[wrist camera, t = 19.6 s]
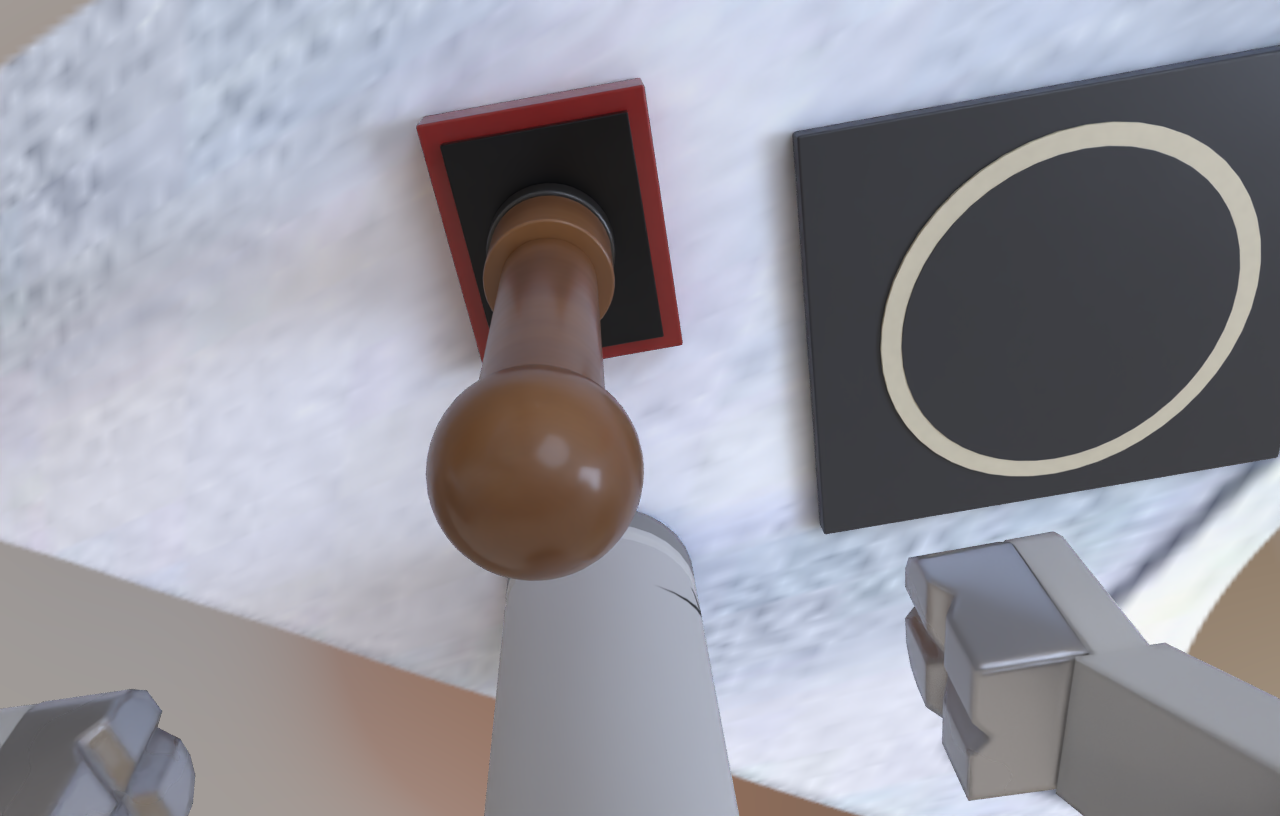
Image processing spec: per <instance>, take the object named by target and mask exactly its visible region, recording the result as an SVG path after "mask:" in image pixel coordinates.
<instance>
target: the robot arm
mask: <svg viewBox="0 0 1280 816" xmlns="http://www.w3.org/2000/svg"><path fill="white" fill-rule="evenodd" d="M905 587H906V589H907V591H908V594H909V596H910V598H911V600H912V602H913V604H914V606H915V607H914V608H913V609H912V610H911V612H910V613H909V614H908V615H907V617H906V618H905V625H906V644H907V649H908V654H909V660H910V665H911V669H912V672H913V675H914V678H915V681H916V684H917V687H918V689H919V692H920V694H921V696H922V699H923V701H924V703H925V706H926V707H927V708H928V709H930V710H931V711H933V712H934V713H936V714H937V715H939V716H940V717H942V718H943V727H942V744H943V746H944V748H945V750H946V753H947V755H948V757H949V759H950V761H951V764H952V766H953V768H954V770H955V772H956V775H957V777H958V779H959V781H960V783H961V786H962V788H963V790H964V792H965V794H966V797H967V799H968V801H970V800H978V799H985V798H993V797H1000V796H1008V795H1015V794H1023V793H1030V792H1037V791H1045V790H1052V789H1056V794H1057V795H1058V796H1060V797H1061V798H1062V799H1063V800H1065V801H1066V802H1067V803H1068V804H1070V805H1071V806H1072V807H1073V808H1075V809H1076V810H1077V811H1078V812H1080V813H1081V814H1082V815H1083V816H1280V699H1279V698H1277V697H1275V696H1273V695H1271V694H1269V693H1267V692H1265V691H1262V690H1261V689H1258V688H1256V687H1254V686H1252V685H1250V684H1248V683H1246V682H1244V681H1242V680H1240V679H1238V678H1236V677H1234V676H1232V675H1230V674H1228V673H1226V672H1224V671H1222V670H1220V669H1218V668H1215V667H1214V666H1212V665H1209V664H1207V663H1205V662H1203V661H1201V660H1199V659H1197V658H1195V657H1193V656H1191V655H1189V654H1187V653H1185V652H1183V651H1181V650H1179V649H1177V648H1175V647H1173V646H1171V645H1169V644H1167V643H1160V644H1153V645H1149V644H1148V643H1147V641H1146V640H1145V639H1144V638H1143V636H1142V635H1141V634H1140V633H1139V631H1138V630H1137V629H1136V628H1135V626H1134V625H1133V624H1132V623H1131V621H1130V620H1129V619H1128V618H1127V616H1126V615H1125V614H1124V613H1123V611H1122V610H1121V609H1120V608H1119V606H1118V605H1117V604H1116V603H1115V601H1114V600H1113V599H1112V598H1111V596H1110V595H1109V594H1108V593H1107V591H1106V590H1105V589H1104V588H1103V586H1102V585H1101V584H1100V583H1099V581H1098V580H1097V579H1096V578H1095V576H1094V575H1093V574H1092V573H1091V571H1090V570H1089V569H1088V568H1087V566H1086V565H1085V564H1084V563H1083V561H1082V560H1081V559H1080V558H1079V556H1078V555H1077V554H1076V553H1075V551H1074V550H1073V549H1072V547H1071V546H1070V545H1069V544H1068V542H1067V541H1066V540H1065V539H1064V537H1063V536H1061V535H1059V534H1057V533H1055V532H1047V533H1042V534H1036V535H1031V536H1026V537H1020V538H1015V539H1009V540H1005V541H1004V542H995V543H990V544H984V545H978V546H973V547H967V548H961V549H956V550H950V551H944V552H939V553H933V554H927V555H922V556H916V557H911V558H908V561H907V565H906V568H905ZM161 714H162V710H161V709H160V708H159V706H158V705H157V703H156V702H155V701H154V699H153V698H152V697H151V695H150V694H149V693H148V691H147V690H135V689H129V690H121V691H114V692H107V693H101V694H95V695H87V696H80V697H73V698H66V699H59V700H52V701H45V702H42V703H39V704H33V705H24V706H17V707H10V708H3V709H0V816H188V814H189V812H190V809H191V807H192V804H193V795H194V783H195V772H194V768H193V764H192V761H191V757H190V754H189V752H188V751H187V749H186V747H185V746H184V744H183V743H182V741H181V739H179V738H177V737H175V736H173V735H171V734H169V733H167V732H165V731H163V730H161V729H160V728H158V723H159V720H160V717H161Z"/></svg>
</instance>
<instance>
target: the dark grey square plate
mask: <svg viewBox="0 0 1280 816" xmlns="http://www.w3.org/2000/svg"><path fill="white" fill-rule="evenodd" d="M793 146H794V160H795V174H796V188H797V203H798V217H799V231H800V245H801V259H802V273H803V288H804V302H805V316H806V330H807V344H808V358H809V372H810V387H811V401H812V415H813V429H814V443H815V457H816V472H817V486H818V500H819V514H820V525H821V527H822V530H823V532H824V534H830V533H836V532H842V531H848V530H854V529H859V528H865V527H871V526H877V525H883V524H889V523H895V522H901V521H906V520H912V519H918V518H924V517H930V516H936V515H942V514H948V513H954V512H959V511H965V510H971V509H977V508H983V507H989V506H995V505H1001V504H1006V503H1012V502H1018V501H1024V500H1030V499H1036V498H1042V497H1048V496H1053V495H1059V494H1065V493H1071V492H1077V491H1083V490H1089V489H1095V488H1100V487H1106V486H1112V485H1118V484H1124V483H1130V482H1136V481H1142V480H1148V479H1153V478H1159V477H1165V476H1171V475H1177V474H1183V473H1189V472H1195V471H1200V470H1206V469H1212V468H1218V467H1224V466H1230V465H1236V464H1242V463H1247V462H1253V461H1259V460H1265V459H1271V458H1276V457H1278V454H1279V450H1280V45H1278V46H1272V47H1266V48H1261V49H1255V50H1250V51H1244V52H1238V53H1233V54H1227V55H1222V56H1216V57H1211V58H1205V59H1199V60H1194V61H1188V62H1183V63H1177V64H1171V65H1166V66H1160V67H1155V68H1149V69H1143V70H1138V71H1132V72H1127V73H1121V74H1116V75H1110V76H1104V77H1099V78H1093V79H1088V80H1082V81H1076V82H1071V83H1065V84H1060V85H1054V86H1048V87H1043V88H1037V89H1032V90H1026V91H1021V92H1015V93H1009V94H1004V95H998V96H993V97H987V98H981V99H976V100H970V101H965V102H959V103H953V104H948V105H942V106H937V107H931V108H926V109H920V110H914V111H909V112H903V113H898V114H892V115H886V116H881V117H875V118H870V119H864V120H858V121H853V122H847V123H842V124H836V125H831V126H825V127H819V128H814V129H808V130H803V131H797V132H794V133H793Z"/></svg>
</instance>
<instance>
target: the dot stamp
mask: <svg viewBox="0 0 1280 816" xmlns="http://www.w3.org/2000/svg"><path fill="white" fill-rule="evenodd" d="M486 253H487V258H486V261H485V266H484V271H483V287H484V292H485V296H486V299H487V302H488V304H489V306H490V308H491V310H492V311H493V315H492V320H491V325H490V329H489V334H488V339H487V344H486V349H485V353H484V358H483V363H482V368H481V373H480V377H479V380H478V381H477V382H475V383H474V384H473V385H471V386H470V387H468V388H467V389H466V390H464V391H463V392H462V393H461V394H460V395H459V396H458V397H457V398H456V399H455V400H454V402H453V403H452V404H451V405H450V406H449V408H448V409H447V410H446V412H445V413H444V414H443V416H442V418H441V420H440V421H439V423H438V425H437V427H436V430H435V432H434V435H433V437H432V440H431V442H430V447H429V451H428V456H427V465H426V480H427V490H428V496H429V500H430V504H431V507H432V510H433V513H434V515H435V517H436V520H437V522H438V524H439V525H440V527H441V529H442V530H443V532H444V534H445V535H446V536H447V538H448V539H449V540H450V542H451V543H452V544H453V545H454V546H455V548H457V549H458V550H459V551H460V552H461V553H462V554H463V555H464V556H466V557H467V558H468V559H470V560H471V561H472V562H474V563H475V564H476V565H478V566H480V567H482V568H484V569H485V570H487V571H490V572H492V573H494V574H497V575H500V576H503V577H507V578H512V579H517V580H526V581H543V580H551V579H557V578H561V577H565V576H568V575H571V574H574V573H576V572H578V571H580V570H583V569H585V568H586V567H588V566H590V565H591V564H593V563H594V562H596V561H598V560H599V559H600V558H602V557H603V556H604V555H605V554H607V553H608V552H609V551H610V550H611V549H612V548H613V547H614V546H615V545H616V543H617V542H618V541H619V540H620V539H621V537H622V536H623V535H624V533H625V532H626V530H627V529H628V527H629V525H630V523H631V521H632V519H633V517H634V515H635V513H636V510H637V508H638V505H639V502H640V497H641V492H642V488H643V477H644V464H643V455H642V450H641V446H640V443H639V439H638V435H637V433H636V430H635V428H634V426H633V424H632V422H631V420H630V418H629V417H628V415H627V413H626V412H625V410H624V409H623V407H622V406H621V405H620V404H619V402H618V401H617V400H616V399H615V398H614V397H613V396H612V395H611V394H610V393H609V392H608V391H606V390H605V383H604V369H603V354H602V340H601V326H600V320H601V319H602V318H603V316H604V315H605V313H606V312H607V310H608V308H609V306H610V304H611V301H612V298H613V294H614V288H615V277H614V263H615V243H614V235H613V231H612V227H611V225H610V222H609V220H608V218H607V216H606V214H605V212H604V211H603V210H602V208H601V207H600V206H599V205H598V204H597V203H596V202H595V201H594V200H593V199H592V198H591V197H589V196H588V195H587V194H585V193H583V192H582V191H580V190H578V189H576V188H573V187H571V186H567V185H563V184H557V183H543V184H536V185H532V186H529V187H526V188H524V189H522V190H520V191H518V192H516V193H515V194H513V195H512V196H511V197H509V198H508V199H507V200H506V201H505V202H504V203H503V204H502V205H501V207H500V208H499V209H498V211H497V213H496V214H495V216H494V218H493V221H492V223H491V226H490V230H489V234H488V238H487V246H486Z"/></svg>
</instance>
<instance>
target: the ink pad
mask: <svg viewBox="0 0 1280 816" xmlns="http://www.w3.org/2000/svg"><path fill="white" fill-rule="evenodd" d="M416 129H417V133H418V136H419V140H420V143H421V147H422V151H423V154H424V158H425V161H426V165H427V168H428V172H429V175H430V179H431V183H432V186H433V190H434V193H435V197H436V200H437V204H438V208H439V211H440V215H441V218H442V222H443V225H444V229H445V233H446V236H447V240H448V243H449V247H450V250H451V254H452V258H453V261H454V265H455V268H456V272H457V275H458V279H459V283H460V286H461V290H462V293H463V297H464V300H465V304H466V308H467V311H468V315H469V318H470V322H471V325H472V329H473V332H474V336H475V340H476V343H477V347H478V350H479V354H480V357H481V361H482V363H483V358H484V353H485V349H486V344H487V339H488V334H489V329H490V325H491V320H492V315H493V311H492V310H491V308H490V306H489V304H488V302H487V299H486V296H485V292H484V287H483V271H484V266H485V261H486V258H487V253H486V246H487V238H488V234H489V230H490V226H491V223H492V221H493V218H494V216H495V214H496V213H497V211H498V209H499V208H500V207H501V205H502V204H503V203H504V202H505V201H506V200H507V199H508V198H509V197H511V196H512V195H513V194H515V193H516V192H518V191H520V190H522V189H524V188H526V187H529V186H532V185H536V184H543V183H557V184H563V185H567V186H571V187H573V188H576V189H578V190H580V191H582V192H583V193H585V194H587V195H588V196H589V197H591V198H592V199H593V200H594V201H595V202H596V203H597V204H598V205H599V206H600V207H601V208H602V210H603V211H604V212H605V214H606V216H607V218H608V220H609V222H610V225H611V227H612V231H613V235H614V243H615V263H614V277H615V288H614V294H613V298H612V301H611V304H610V306H609V308H608V310H607V312H606V313H605V315H604V316H603V318H602V319H601V320H600V326H601V340H602V354H603V359H605V358H610V357H616V356H622V355H628V354H633V353H639V352H645V351H650V350H656V349H662V348H668V347H673V346H679V345H682V343H683V341H682V334H681V328H680V321H679V314H678V308H677V301H676V294H675V288H674V281H673V274H672V268H671V261H670V254H669V248H668V241H667V234H666V227H665V221H664V214H663V207H662V201H661V194H660V187H659V181H658V174H657V167H656V161H655V154H654V147H653V141H652V134H651V127H650V120H649V114H648V107H647V100H646V94H645V87H644V85H643V83H642V80H641V79H640V78H635V79H630V80H624V81H619V82H613V83H608V84H602V85H597V86H591V87H586V88H580V89H574V90H569V91H563V92H558V93H552V94H547V95H541V96H536V97H530V98H525V99H519V100H514V101H508V102H503V103H497V104H492V105H486V106H480V107H475V108H469V109H464V110H458V111H453V112H447V113H442V114H436V115H431V116H425V117H423V119H422V120H421V121H420V122H419V124H418V125H417V126H416Z"/></svg>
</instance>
